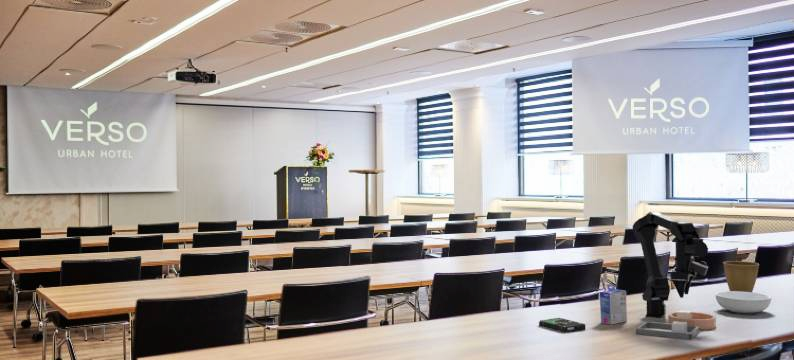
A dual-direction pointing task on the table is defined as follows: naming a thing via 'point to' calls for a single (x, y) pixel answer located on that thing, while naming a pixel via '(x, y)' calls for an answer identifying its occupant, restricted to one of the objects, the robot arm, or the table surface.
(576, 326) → the disk drive
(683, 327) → the pale grey cubic block
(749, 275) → the plant pot
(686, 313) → the white matte cube
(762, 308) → the serving bowl
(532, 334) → the table surface
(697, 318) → the bowl
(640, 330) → the parts tray
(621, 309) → the ink cartridge box
